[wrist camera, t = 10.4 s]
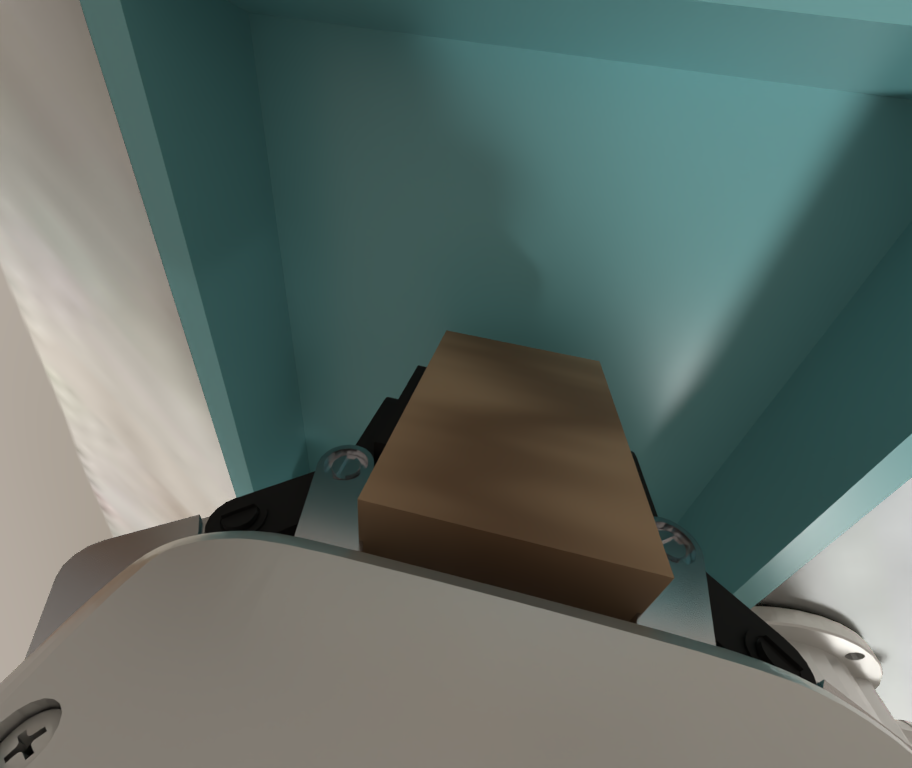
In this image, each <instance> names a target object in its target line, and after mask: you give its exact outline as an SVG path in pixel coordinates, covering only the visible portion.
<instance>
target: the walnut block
mask: <svg viewBox="0 0 912 768" xmlns="http://www.w3.org/2000/svg"><path fill="white" fill-rule="evenodd" d="M357 501H358V532H359V540H360V541H363V552H364V553H368V554H372V555H376V556H380V557H383V558H387V559H391V560H395V561H399V562H403V563H407V564H411V565H415V566H419V567H423V568H426V569H430V570H434V571H438V572H442V573H446V574H450V575H454V576H457V577H461V578H465V579H469V580H473V581H477V582H480V583H484V584H488V585H492V586H496V587H500V588H503V589H507V590H511V591H515V592H519V593H522V594H526V595H530V596H534V597H538V598H542V599H545V600H549V601H553V602H557V603H561V604H564V605H568V606H572V607H576V608H579V609H583V610H587V611H590V612H594V613H598V614H602V615H605V616H609V617H613V618H617V619H620V620H624V621H628V622H629V621H630V620H631V619H632V618H633V617H634V616H635V614H636V613H637V612H638V613H641V614H643V613H644V612H645V611H646V609H647V608H648V607H649V606H650V605H651V604H652V603H653V602H654V600H655V599H656V598H657V597H658V596H659V595H660V594H661V593H662V592H663V590H664V589H665V588H666V587H667V586H668V585H669V584H670V583H671V581H672V580H673V579H674V575H673V572H672V570H671V567H670V564H669V561H668V558H667V555H666V552H665V549H664V546H663V543H662V541H661V538H660V535H659V532H658V529H657V526H656V523H655V520H654V517H653V514H652V512H651V509H650V506H649V503H648V500H647V497H646V494H645V491H644V488H643V486H642V483H641V480H640V477H639V474H638V471H637V468H636V465H635V462H634V459H633V457H632V454H631V451H630V448H629V445H628V442H627V439H626V436H625V433H624V430H623V428H622V425H621V422H620V419H619V416H618V413H617V410H616V407H615V404H614V402H613V399H612V396H611V393H610V390H609V387H608V384H607V381H606V378H605V375H604V373H603V370H602V367H601V364H600V361H595V360H591V359H586V358H581V357H576V356H571V355H566V354H561V353H556V352H551V351H546V350H541V349H536V348H531V347H526V346H522V345H517V344H512V343H507V342H502V341H497V340H492V339H487V338H482V337H477V336H472V335H467V334H462V333H457V332H453V331H448V330H446V332H445V334H444V336H443V338H442V340H441V341H440V343H439V345H438V347H437V349H436V351H435V353H434V355H433V357H432V359H431V360H430V362H429V364H428V366H427V368H426V370H425V372H424V374H423V376H422V378H421V379H420V381H419V383H418V385H417V387H416V389H415V391H414V393H413V395H412V396H411V398H410V400H409V402H408V404H407V406H406V408H405V410H404V412H403V414H402V415H401V417H400V419H399V421H398V423H397V425H396V427H395V429H394V431H393V433H392V434H391V436H390V438H389V440H388V442H387V444H386V446H385V448H384V450H383V452H382V453H381V455H380V457H379V459H378V461H377V463H376V465H375V467H374V469H373V471H372V472H371V474H370V476H369V478H368V480H367V482H366V484H365V486H364V488H363V490H362V491H361V493H360V495H359V497H358V499H357Z"/></svg>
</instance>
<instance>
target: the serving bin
mask: <svg viewBox="0 0 912 768" xmlns="http://www.w3.org/2000/svg"><path fill="white" fill-rule="evenodd" d="M80 3H81V7H82V10H83V13H84V16H85V19H86V22H87V26H88V29H89V32H90V35H91V38H92V41H93V45H94V48H95V51H96V54H97V57H98V60H99V64H100V67H101V70H102V73H103V76H104V79H105V83H106V86H107V89H108V92H109V95H110V98H111V102H112V105H113V108H114V111H115V114H116V117H117V121H118V124H119V127H120V130H121V133H122V136H123V140H124V143H125V146H126V149H127V152H128V155H129V158H130V162H131V165H132V168H133V171H134V174H135V177H136V181H137V184H138V187H139V190H140V193H141V196H142V200H143V203H144V206H145V209H146V212H147V215H148V219H149V222H150V225H151V228H152V231H153V234H154V238H155V241H156V244H157V247H158V250H159V253H160V257H161V260H162V263H163V266H164V269H165V272H166V276H167V279H168V282H169V285H170V288H171V291H172V295H173V298H174V301H175V304H176V307H177V310H178V314H179V317H180V320H181V323H182V326H183V329H184V333H185V336H186V339H187V342H188V345H189V348H190V352H191V355H192V358H193V361H194V364H195V367H196V371H197V374H198V377H199V380H200V383H201V386H202V390H203V393H204V396H205V399H206V402H207V405H208V409H209V412H210V415H211V418H212V421H213V424H214V428H215V431H216V434H217V437H218V440H219V443H220V447H221V450H222V453H223V456H224V459H225V462H226V466H227V469H228V472H229V475H230V478H231V481H232V485H233V488H234V491H235V494H236V497H240V496H243V495H246V494H249V493H252V492H255V491H258V490H261V489H264V488H267V487H270V486H273V485H276V484H279V483H282V482H284V481H287V480H290V479H293V478H296V477H299V476H302V475H305V474H308V473H311V472H314V471H315V470H316V467H317V464H318V462H319V460H320V458H321V456H322V455H324V454H325V453H326V452H327V451H329V450H330V449H332V448H334V447H338V446H341V445H356V443H357V442H358V440H359V439H360V437H361V436H362V434H363V432H364V431H365V429H366V428H367V426H368V425H369V423H370V421H371V420H372V418H373V417H374V415H375V414H376V412H377V410H378V409H379V407H380V406H381V404H382V403H383V401H384V400H385V398H386V397H391V398H396V399H399V397H400V395H401V394H402V392H403V390H404V388H405V387H406V385H407V383H408V382H409V380H410V378H411V376H412V375H413V373H414V371H415V369H416V368H417V366H418V365H420V366H424V367H427V366H428V364H429V362H430V360H431V359H432V357H433V355H434V353H435V351H436V349H437V347H438V345H439V343H440V341H441V340H442V338H443V336H444V334H445V332H446V330H448V331H453V332H457V333H462V334H467V335H472V336H477V337H482V338H487V339H492V340H497V341H502V342H507V343H512V344H517V345H522V346H526V347H531V348H536V349H541V350H546V351H551V352H556V353H561V354H566V355H571V356H576V357H581V358H586V359H591V360H595V361H600V364H601V367H602V370H603V373H604V375H605V378H606V381H607V384H608V387H609V390H610V393H611V396H612V399H613V402H614V404H615V407H616V410H617V413H618V416H619V419H620V422H621V425H622V428H623V430H624V433H625V436H626V439H627V442H628V445H629V448H630V451H633V452H634V453H635V455H636V457H637V459H638V462H639V465H640V468H641V471H642V473H643V476H644V479H645V482H646V485H647V487H648V490H649V493H650V496H651V498H652V501H653V504H654V507H655V510H656V512H657V515H658V517H662V518H665V519H668V520H671V521H673V522H675V523H676V524H678V525H680V526H681V527H683V528H684V529H685V530H686V531H688V532H689V533H690V534H691V535H692V536H693V538H694V539H695V540H696V541H697V543H698V544H699V546H700V547H701V550H702V553H703V556H704V563H705V570H706V572H707V573H708V574H709V575H710V576H711V577H713V578H714V579H715V580H716V581H717V582H719V583H720V584H721V585H722V586H723V587H724V588H726V589H727V590H728V591H729V592H730V593H732V594H733V595H734V596H735V597H736V598H738V599H739V600H740V601H741V602H742V603H743V604H745V605H746V606H747V607H748V608H749V609H751V608H752V607H754V606H755V605H756V604H757V603H759V602H760V601H761V600H762V599H763V598H765V597H766V596H767V595H768V594H770V593H771V592H772V591H773V590H774V589H776V588H777V587H778V586H779V585H781V584H782V583H783V582H784V581H786V580H787V579H788V578H789V577H790V576H792V575H793V574H794V573H795V572H797V571H798V570H799V569H800V568H801V567H803V566H804V565H805V564H806V563H808V562H809V561H810V560H811V559H812V558H814V557H815V556H816V555H817V554H819V553H820V552H821V551H822V550H823V549H825V548H826V547H827V546H828V545H830V544H831V543H832V542H833V541H834V540H836V539H837V538H838V537H839V536H841V535H842V534H843V533H844V532H845V531H847V530H848V529H849V528H850V527H852V526H853V525H854V524H855V523H856V522H858V521H859V520H860V519H861V518H863V517H864V516H865V515H866V514H867V513H869V512H870V511H871V510H872V509H874V508H875V507H876V506H877V505H879V504H880V503H881V502H882V501H883V500H885V499H886V498H887V497H888V496H890V495H891V494H892V493H893V492H894V491H896V490H897V489H898V488H899V487H901V486H902V485H903V484H904V483H905V482H907V481H908V480H909V479H910V478H912V0H80Z"/></svg>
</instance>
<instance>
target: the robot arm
mask: <svg viewBox="0 0 912 768" xmlns="http://www.w3.org/2000/svg"><path fill="white" fill-rule="evenodd" d="M426 368H427V367H424V366H420V365H418V366H417V368H416V369H415V371H414V373H413V375H412V376H411V378H410V380H409V382H408V383H407V385H406V387H405V388H404V390H403V392H402V394H401V395H400V397H399V399H396V398H391V397H386V398H385V400H384V401H383V403H382V404H381V406H380V407H379V409H378V410H377V412H376V414H375V415H374V417H373V418H372V420H371V421H370V423H369V425H368V426H367V428H366V429H365V431H364V432H363V434H362V436H361V437H360V439H359V440H358V442H357V443H356V445H341V446H338V447H334V448H332V449H330V450H329V451H327V452H326V453H325V454H324V455H322V456H321V458H320V460H319V462H318V464H317V467H316V470H315V471H314V472H311V473H308V474H305V475H302V476H299V477H296V478H293V479H290V480H287V481H284V482H282V483H279V484H276V485H273V486H270V487H267V488H264V489H261V490H258V491H255V492H252V493H249V494H246V495H243V496H240V497H237V498H235V499H233V500H230V501H228V502H226V503H225V504H223V505H222V506H220V507H219V508H217V509H216V510H215V512H214V513H213V514H212V515H211V516H210V517H206V518H203V519H201V517H200V515H196V516H192V517H189V518H185V519H181V520H178V521H174V522H170V523H166V524H163V525H159V526H155V527H151V528H148V529H144V530H140V531H137V532H133V533H129V534H125V535H122V536H118V537H114V538H111V539H107V540H104V541H101V542H98V543H95V544H93V545H90V546H88V547H86V548H85V549H83V550H81V551H80V552H78V553H77V554H75V555H74V556H73V557H72V558H71V559H69V560H68V561H67V562H66V563H65V564H64V565H63V566H62V568H61V570H60V571H59V573H58V574H57V576H56V578H55V581H54V583H53V586H52V589H51V591H50V594H49V597H48V599H47V602H46V604H45V607H44V610H43V612H42V615H41V618H40V620H39V623H38V626H37V628H36V631H35V634H34V636H33V639H32V642H31V644H30V647H29V650H28V652H27V655H26V658H25V660H24V661H23V662H22V663H21V664H20V665H19V666H18V667H17V668H16V669H15V670H14V671H13V672H12V673H11V674H10V675H9V676H8V677H7V678H6V679H5V680H4V681H3V682H1V683H0V768H912V722H908V721H904V720H896V719H894V718H893V716H892V715H891V713H890V712H889V710H888V709H887V707H886V706H885V704H884V703H883V701H882V700H881V698H880V697H879V695H878V694H877V692H876V690H875V689H876V688H877V687H878V686H879V684H880V681H881V678H882V675H883V671H882V667H881V663H880V662H879V660H878V659H877V657H876V656H875V654H874V653H873V651H872V650H871V648H870V647H869V645H868V644H867V643H866V642H865V641H864V640H863V639H862V638H861V637H860V636H859V635H858V634H857V633H856V632H854V631H852V630H851V629H849V628H847V627H846V626H844V625H842V624H840V623H838V622H835V621H832V620H830V619H827V618H825V617H822V616H819V615H815V614H811V613H807V612H803V611H799V610H794V609H787V608H780V607H770V606H754V607H752V608H751V609H749V608H748V607H747V606H746V605H745V604H743V603H742V602H741V601H740V600H739V599H738V598H736V597H735V596H734V595H733V594H732V593H730V592H729V591H728V590H727V589H726V588H724V587H723V586H722V585H721V584H720V583H719V582H717V581H716V580H715V579H714V578H713V577H711V576H710V575H709V574H708V573H707V572H706V570H705V563H704V556H703V553H702V550H701V547H700V546H699V544H698V543H697V541H696V540H695V539H694V538H693V536H692V535H691V534H690V533H689V532H688V531H686V530H685V529H684V528H683V527H681V526H680V525H678V524H676V523H675V522H673V521H671V520H668V519H665V518H662V517H658V515H657V512H656V510H655V507H654V504H653V501H652V498H651V496H650V493H649V490H648V487H647V485H646V482H645V479H644V476H643V473H642V471H641V468H640V465H639V462H638V459H637V457H636V455H635V453H634V452H633V451H631V454H632V457H633V459H634V462H635V465H636V468H637V471H638V474H639V477H640V480H641V483H642V486H643V488H644V491H645V494H646V497H647V500H648V503H649V506H650V509H651V512H652V514H653V517H654V520H655V523H656V526H657V529H658V532H659V535H660V538H661V541H662V543H663V546H664V549H665V552H666V555H667V558H668V561H669V564H670V567H671V570H672V572H673V575H674V579H673V580H672V581H671V583H670V584H669V585H668V586H667V587H666V588H665V589H664V590H663V592H662V593H661V594H660V595H659V596H658V597H657V598H656V599H655V600H654V602H653V603H652V604H651V605H650V606H649V607H648V608H647V609H646V611H645V612H644V613H643V614H641V613H638V612H637V613H636V614H635V616H634V617H633V618H632V619H631V620H630V621H629V622H628V621H624V620H620V619H617V618H613V617H609V616H605V615H602V614H598V613H594V612H590V611H587V610H583V609H579V608H576V607H572V606H568V605H564V604H561V603H557V602H553V601H549V600H545V599H542V598H538V597H534V596H530V595H526V594H522V593H519V592H515V591H511V590H507V589H503V588H500V587H496V586H492V585H488V584H484V583H480V582H477V581H473V580H469V579H465V578H461V577H457V576H454V575H450V574H446V573H442V572H438V571H434V570H430V569H426V568H423V567H419V566H415V565H411V564H407V563H403V562H399V561H395V560H391V559H387V558H383V557H380V556H376V555H372V554H368V553H364V552H363V541H360V540H359V532H358V501H357V499H358V497H359V495H360V493H361V491H362V490H363V488H364V486H365V484H366V482H367V480H368V478H369V476H370V474H371V472H372V471H373V469H374V467H375V465H376V463H377V461H378V459H379V457H380V455H381V453H382V452H383V450H384V448H385V446H386V444H387V442H388V440H389V438H390V436H391V434H392V433H393V431H394V429H395V427H396V425H397V423H398V421H399V419H400V417H401V415H402V414H403V412H404V410H405V408H406V406H407V404H408V402H409V400H410V398H411V396H412V395H413V393H414V391H415V389H416V387H417V385H418V383H419V381H420V379H421V378H422V376H423V374H424V372H425V370H426Z"/></svg>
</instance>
